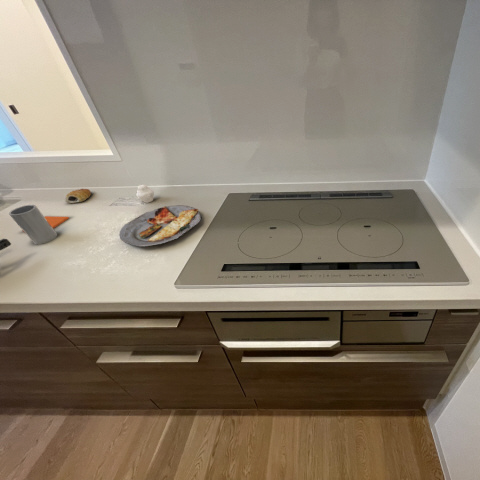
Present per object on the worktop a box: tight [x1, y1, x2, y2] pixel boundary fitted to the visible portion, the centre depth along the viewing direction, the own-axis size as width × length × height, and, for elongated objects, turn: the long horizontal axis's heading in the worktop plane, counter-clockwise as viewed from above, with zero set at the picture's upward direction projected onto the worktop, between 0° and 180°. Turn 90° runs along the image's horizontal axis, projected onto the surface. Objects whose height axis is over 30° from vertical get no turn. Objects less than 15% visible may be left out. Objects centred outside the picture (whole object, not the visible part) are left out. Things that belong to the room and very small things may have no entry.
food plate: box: [118, 204, 202, 247], centre depth 90 cm, size 25×23×4 cm
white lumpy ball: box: [135, 184, 155, 204], centre depth 105 cm, size 6×6×7 cm
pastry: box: [65, 188, 92, 204], centre depth 109 cm, size 9×7×4 cm
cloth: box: [21, 215, 70, 233], centre depth 94 cm, size 9×9×1 cm
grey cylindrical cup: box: [8, 204, 58, 245], centre depth 84 cm, size 6×6×11 cm
